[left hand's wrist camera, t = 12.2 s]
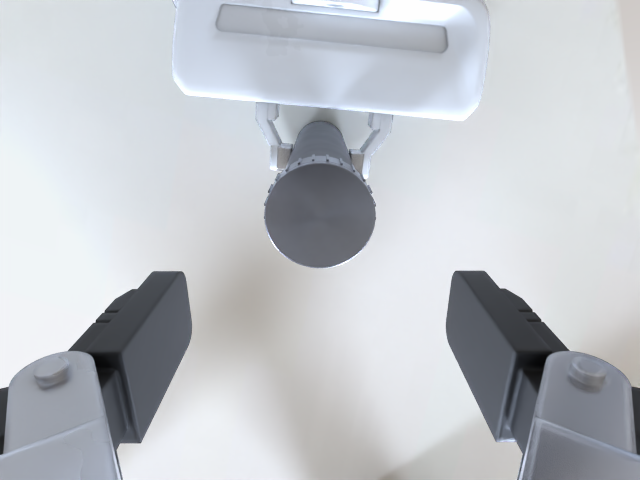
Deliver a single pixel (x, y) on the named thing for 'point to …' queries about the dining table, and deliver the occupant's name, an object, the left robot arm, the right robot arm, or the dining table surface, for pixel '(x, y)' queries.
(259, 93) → the right robot arm
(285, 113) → the dining table surface
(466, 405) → the dining table surface
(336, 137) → the grey cylinder
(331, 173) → the lid
